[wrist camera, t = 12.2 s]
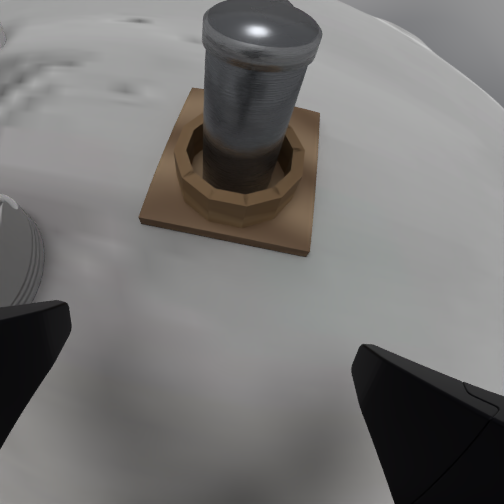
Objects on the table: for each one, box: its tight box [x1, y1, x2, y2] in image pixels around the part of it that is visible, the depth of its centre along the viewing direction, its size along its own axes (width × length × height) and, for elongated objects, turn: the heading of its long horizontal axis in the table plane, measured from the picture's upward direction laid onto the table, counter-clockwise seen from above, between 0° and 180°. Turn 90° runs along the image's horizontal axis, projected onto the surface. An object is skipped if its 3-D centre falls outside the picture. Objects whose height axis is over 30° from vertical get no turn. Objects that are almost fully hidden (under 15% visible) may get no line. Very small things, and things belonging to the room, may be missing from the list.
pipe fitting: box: [202, 0, 322, 195], centre depth 18 cm, size 8×5×13 cm
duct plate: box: [139, 88, 320, 257], centre depth 23 cm, size 14×12×4 cm
